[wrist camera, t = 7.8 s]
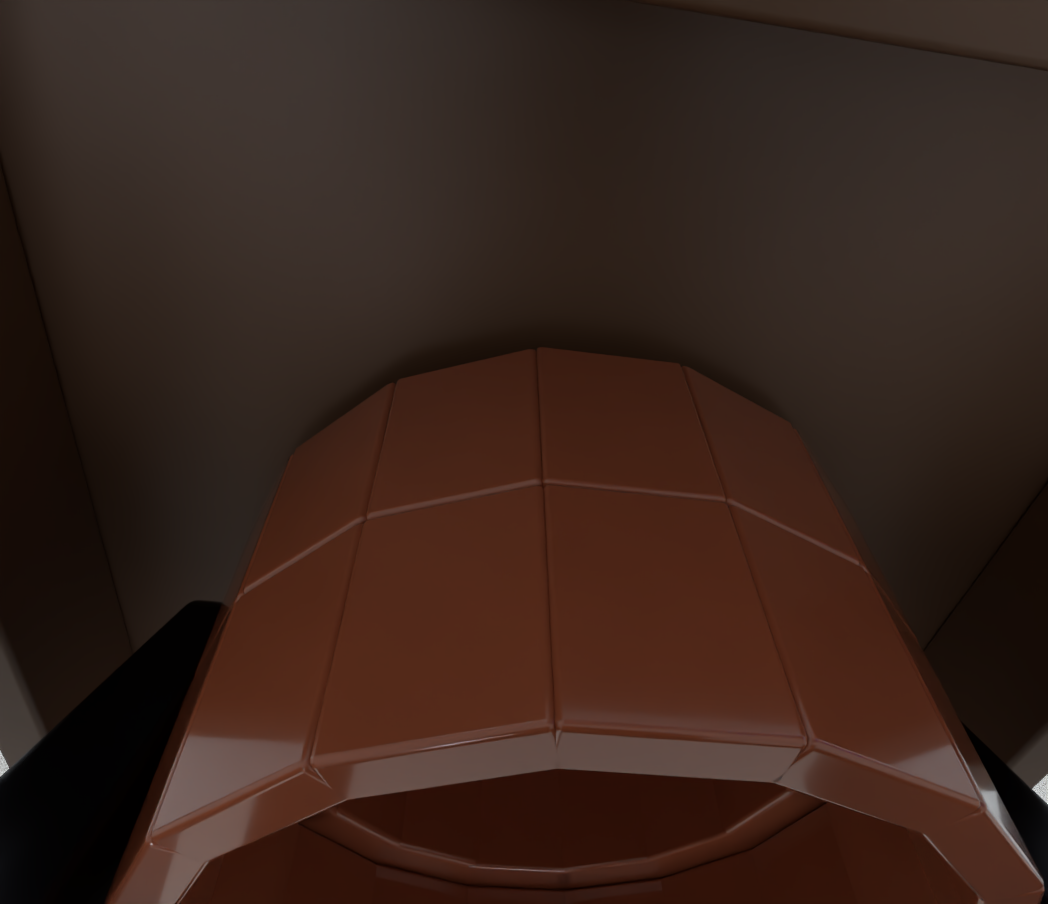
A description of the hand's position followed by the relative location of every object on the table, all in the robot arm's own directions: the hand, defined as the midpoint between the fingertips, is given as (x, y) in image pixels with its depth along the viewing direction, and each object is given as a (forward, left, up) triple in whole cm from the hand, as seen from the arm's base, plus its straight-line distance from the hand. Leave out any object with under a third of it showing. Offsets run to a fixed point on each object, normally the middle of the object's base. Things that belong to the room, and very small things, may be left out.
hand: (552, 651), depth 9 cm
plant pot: (0, 0, -1) cm, 1 cm away
